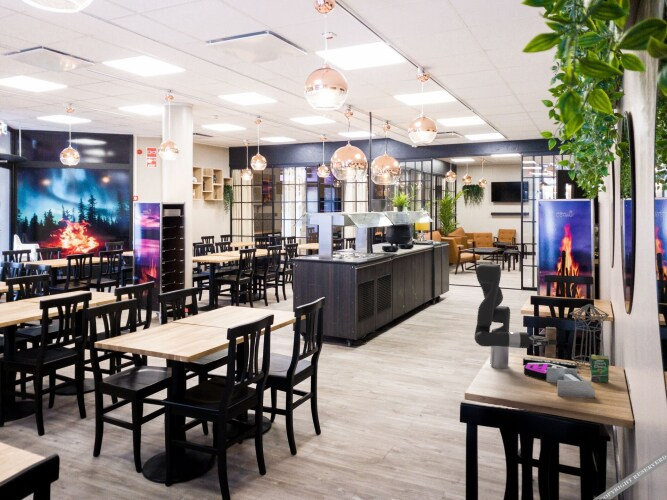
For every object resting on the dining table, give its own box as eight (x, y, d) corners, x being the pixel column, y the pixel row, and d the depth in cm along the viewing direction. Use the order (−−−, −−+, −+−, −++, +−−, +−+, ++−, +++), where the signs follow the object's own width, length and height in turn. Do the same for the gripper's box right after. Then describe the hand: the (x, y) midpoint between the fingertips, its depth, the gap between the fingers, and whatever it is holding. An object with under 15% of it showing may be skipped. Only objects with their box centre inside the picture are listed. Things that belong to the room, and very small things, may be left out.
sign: (524, 363, 298) (515, 377, 272) (524, 357, 298) (515, 369, 272) (577, 370, 286) (573, 384, 259) (577, 363, 286) (573, 377, 259)
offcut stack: (573, 394, 244) (573, 381, 243) (563, 386, 256) (563, 374, 255) (581, 394, 243) (581, 381, 243) (570, 386, 255) (571, 374, 255)
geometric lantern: (580, 362, 300) (582, 301, 298) (609, 369, 287) (611, 304, 286) (566, 367, 290) (567, 303, 289) (594, 373, 278) (596, 307, 276)
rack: (557, 395, 241) (558, 380, 240) (546, 381, 263) (546, 367, 263) (594, 397, 238) (594, 382, 238) (579, 383, 261) (579, 369, 260)
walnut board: (546, 357, 250) (547, 328, 250) (544, 356, 253) (545, 327, 253) (555, 358, 250) (556, 328, 249) (553, 356, 253) (554, 327, 252)
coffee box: (590, 381, 264) (591, 355, 263) (590, 379, 266) (590, 354, 266) (608, 383, 260) (609, 357, 260) (608, 381, 263) (608, 355, 262)
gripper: (521, 335, 246) (560, 336, 244) (515, 329, 260) (552, 330, 258) (520, 351, 247) (559, 352, 244) (515, 344, 261) (552, 346, 258)
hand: (555, 341), depth 251 cm, fingers closed on walnut board, 3 cm apart
